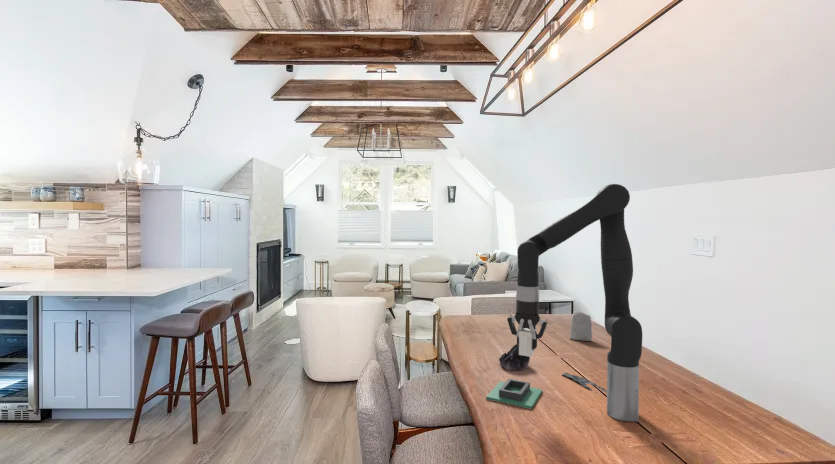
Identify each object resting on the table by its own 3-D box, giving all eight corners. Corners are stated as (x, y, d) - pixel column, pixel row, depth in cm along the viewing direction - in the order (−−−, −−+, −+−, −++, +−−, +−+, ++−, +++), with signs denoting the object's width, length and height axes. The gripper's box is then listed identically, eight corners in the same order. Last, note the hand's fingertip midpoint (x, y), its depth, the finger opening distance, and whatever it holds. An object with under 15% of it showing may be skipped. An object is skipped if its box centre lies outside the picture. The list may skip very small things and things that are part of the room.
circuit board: (542, 392, 152) (542, 382, 152) (531, 409, 138) (531, 399, 138) (500, 383, 160) (500, 375, 160) (486, 399, 146) (486, 389, 146)
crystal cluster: (494, 369, 178) (495, 347, 176) (502, 357, 190) (503, 337, 188) (525, 377, 172) (527, 354, 170) (532, 364, 184) (533, 343, 182)
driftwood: (559, 375, 170) (559, 370, 170) (573, 373, 172) (573, 368, 172) (595, 396, 150) (595, 391, 150) (611, 394, 152) (611, 388, 152)
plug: (534, 351, 143) (534, 329, 143) (530, 357, 137) (530, 333, 136) (523, 350, 145) (523, 327, 145) (518, 355, 139) (518, 332, 138)
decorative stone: (592, 340, 219) (592, 312, 219) (590, 342, 214) (590, 314, 214) (571, 337, 225) (571, 309, 224) (568, 339, 220) (569, 312, 219)
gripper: (551, 299, 141) (550, 348, 141) (510, 295, 147) (509, 342, 148) (546, 302, 134) (545, 354, 135) (504, 298, 141) (503, 348, 141)
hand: (526, 348), depth 141 cm, fingers closed on plug, 4 cm apart
